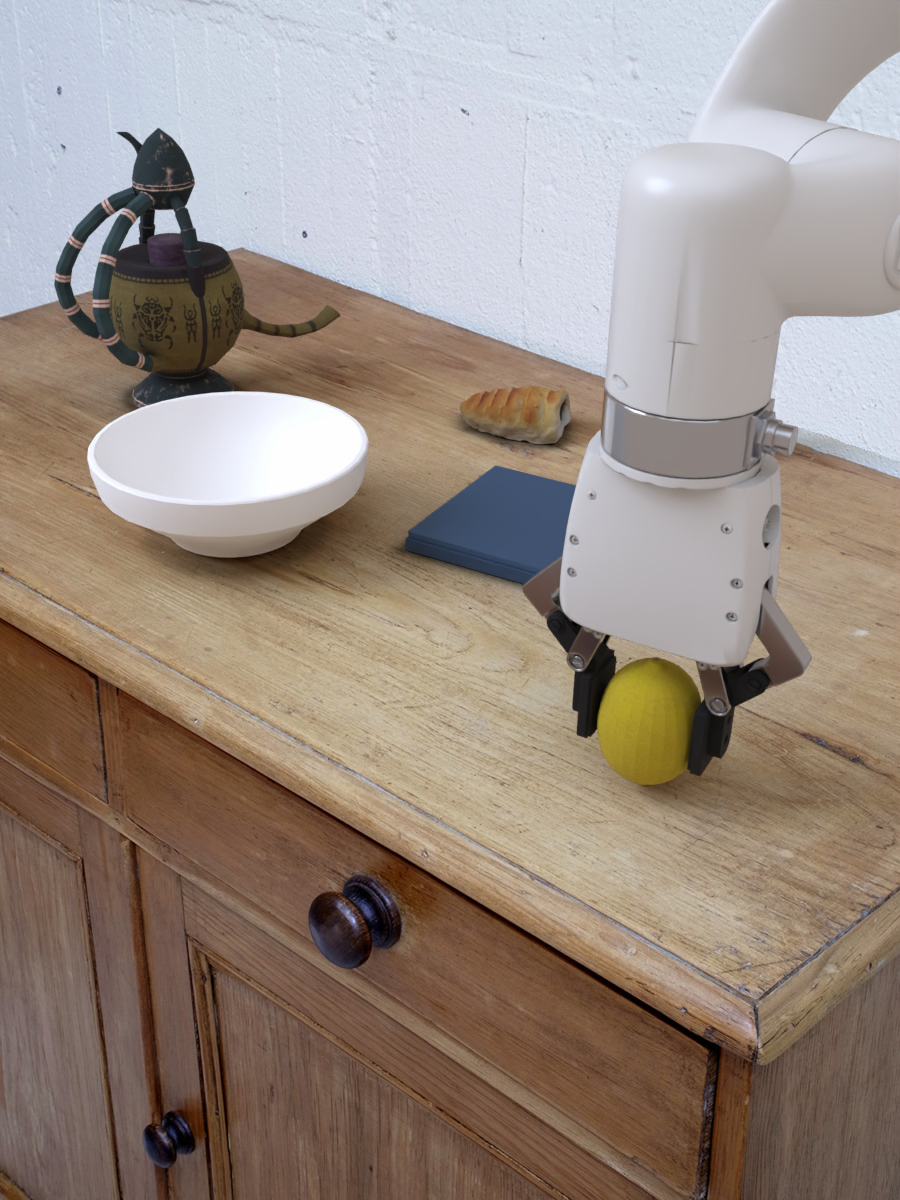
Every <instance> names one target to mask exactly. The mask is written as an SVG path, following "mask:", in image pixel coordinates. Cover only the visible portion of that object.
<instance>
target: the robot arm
mask: <svg viewBox="0 0 900 1200" xmlns="http://www.w3.org/2000/svg"><path fill="white" fill-rule="evenodd" d="M899 52H900V0H770V1H768V3H766V5H765V6H764V7H763V9H761V11H759V13H758V15H757V16H756V17H755V18H754V20H753V21H752V22H751V23H750V25H749V26H748V27H747V29H746V30H745V32H744V34H743V35H742V36H741V38H740V39H739V41H738V43H736V46H735V48H734V49H733V51H732V53H731V54H730V56H729V57H728V59H727V61H726V63H725V64H724V66H723V68H722V70H721V72H720V74H719V75H718V78H716V80H715V82H714V84H713V86H711V87H712V88H711V89H710V91H709V93H708V94H707V96H706V98H705V100H704V102H703V103H702V105H701V107H700V109H699V111H698V113H697V115H696V117H695V119H694V121H693V123H692V126H691V127H690V130H689V132H688V135H687V136H686V138H685V141H684V142H678V143H669V144H664V145H660V146H656V147H652V148H650V149H646V150H645V151H642V152H641V153H640V154H638V155H637V156H636V157H635V158H633V160H632V161H631V162H630V163H629V165H628V166H627V167H626V170H625V172H624V174H623V178H622V181H621V183H620V184H621V185H620V191H619V200H618V209H617V219H616V220H617V222H616V232H615V233H616V234H615V246H614V259H613V260H614V261H613V270H612V271H613V274H612V283H611V284H612V285H611V287H612V288H611V298H610V311H609V323H608V338H607V350H606V363H605V364H606V365H605V376H604V377H605V379H604V386H603V387H604V388H603V397H602V398H603V400H602V411H601V412H602V413H601V426H600V429H599V430H598V431H597V432H596V433H595V434H594V436H592V437H591V438H590V440H589V442H588V444H587V447H586V450H585V453H584V456H583V459H582V463H581V465H580V469H579V473H578V476H577V481H576V484H575V485H576V488H575V492H574V496H573V500H572V505H571V509H570V514H569V519H568V524H567V530H566V536H565V543H564V549H563V554H561V555H560V556H559V557H557V558H556V559H555V560H553V561H552V562H551V563H549V564H548V565H547V566H545V567H544V568H543V569H541V570H540V571H539V572H537V573H536V574H535V575H534V576H533V577H532V578H531V579H529V580H528V581H527V582H526V583H525V584H522V589H521V590H522V593H523V596H525V598H526V599H527V601H529V602H530V604H531V605H532V607H533V608H534V609H535V611H537V613H538V614H539V615H540V616H541V617H542V618H545V620H546V626H547V628H548V630H549V631H550V633H551V634H552V635H553V636H554V638H555V639H556V640H557V642H558V643H559V644H560V646H561V648H562V649H563V650H564V651H565V653H566V654H567V655H566V659H565V661H566V664H567V666H568V667H569V668H570V669H571V670H572V671H574V677H573V688H572V689H573V691H572V701H571V702H572V703H571V709H572V711H574V712H576V713H577V721H576V736H578V737H580V738H583V739H587V738H588V737H589V738H591V737H593V735H594V734H595V733H596V732H597V718H598V712H599V707H600V703H601V699H602V696H603V694H604V691H605V689H606V687H607V685H608V683H609V682H610V680H611V679H612V677H613V676H614V674H615V673H616V669H617V656H616V655H615V652H616V651H615V649H613V648H610V647H609V646H608V645H609V643H610V640H611V639H612V637H614V638H618V639H620V640H624V641H627V642H631V643H634V644H637V645H640V646H643V647H647V648H651V649H655V650H658V651H661V652H664V653H667V654H671V655H673V656H677V657H680V658H685V659H687V660H691V661H694V662H695V664H696V668H697V673H698V676H699V681H700V686H701V690H702V694H703V700H701V704H700V705H699V707H698V708H697V709H696V711H695V714H694V719H693V727H692V734H691V742H690V749H689V757H688V765H687V768H686V770H687V771H689V774H690V775H693V776H697V777H701V776H702V775H703V773H704V772H705V771H706V769H707V767H708V765H710V763H711V761H712V759H713V758H717V759H720V760H721V759H722V758H723V757H724V756H725V754H726V752H727V751H728V748H729V745H730V741H731V736H732V730H733V724H734V717H735V712H736V711H735V710H736V707H737V706H740V705H741V704H743V703H746V702H748V701H750V700H752V699H754V698H756V697H759V696H760V695H763V693H765V692H766V691H767V690H768V689H771V688H774V687H778V686H780V685H783V684H785V683H787V682H789V681H792V680H794V679H796V678H800V677H801V676H802V675H804V673H805V672H806V670H807V669H808V667H809V665H810V664H811V662H812V658H813V655H812V654H811V651H810V650H809V649H808V647H807V645H806V644H805V642H804V641H803V639H802V638H801V637H800V635H799V634H798V632H797V631H796V629H795V628H794V626H793V625H792V623H791V622H790V621H789V619H788V617H787V615H786V614H785V613H784V612H783V610H782V609H781V607H780V606H779V604H778V603H777V595H778V586H779V574H780V573H779V572H780V563H781V562H780V559H781V544H782V542H781V541H782V519H783V518H782V517H783V515H782V514H783V513H782V511H783V505H782V504H783V503H782V501H783V500H782V481H781V480H782V479H781V470H780V463H779V460H778V459H777V458H776V457H775V456H774V455H776V454H781V455H785V456H791V455H792V454H793V452H794V450H795V447H796V446H797V442H798V437H799V427H798V426H796V425H791V424H786V423H784V422H783V420H782V419H778V418H777V417H776V411H774V408H775V401H776V398H772V392H773V385H774V380H775V379H774V377H775V371H776V365H777V357H778V352H779V351H778V350H779V344H780V338H781V337H780V336H781V330H782V326H783V324H784V323H785V322H786V321H787V320H788V319H791V318H793V317H794V318H795V317H834V318H835V317H836V318H837V317H838V318H856V317H859V318H862V317H873V316H875V317H876V316H880V315H885V314H889V313H893V312H898V311H900V140H899V139H896V138H892V137H889V136H883V135H879V134H874V133H870V132H868V131H867V132H866V131H862V130H858V129H857V128H855V127H854V128H853V127H851V126H850V127H849V126H846V125H842V124H838V123H833V122H829V121H828V120H829V119H830V118H831V116H832V114H833V113H834V112H835V110H836V109H837V107H838V106H839V105H840V104H841V102H843V100H844V99H845V98H846V97H847V95H849V93H850V92H851V91H853V89H854V88H855V87H856V86H857V85H858V84H859V83H860V82H861V81H862V80H864V79H865V78H866V77H867V76H868V75H869V74H870V73H872V72H873V71H874V70H876V68H879V66H881V65H882V64H883V63H884V62H886V61H887V60H889V59H890V58H892V57H893V56H895V55H896V54H898V53H899ZM755 636H757V638H758V639H759V641H760V642H761V644H762V645H763V647H764V648H765V649H766V652H768V654H769V655H768V656H766V657H759V658H757V659H754V660H752V661H751V662H749V663H746V664H744V662H745V661H746V659H747V657H748V654H749V651H750V647H751V645H752V644H753V641H754V638H755Z"/></svg>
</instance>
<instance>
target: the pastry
mask: <svg viewBox="0 0 900 1200" xmlns="http://www.w3.org/2000/svg"><path fill="white" fill-rule="evenodd" d="M569 396H570V395H569V393H568V391H567V390H566V389H565V388H563V387H561V388H559V389H558V390H553V389H549V388H546V387H543V386H539V385H538V386H537V385H531V384H523V385H521V386H519V387H514V386H507V387H503V388H493V389H492V390H490V391H486V390H484V391H481V392H477V393H476V392H475V393H474V394H472V395H470V397H467V399H466V400H464V401H462V402H461V403H460V404H459V410H460V413H461V417H462V418H463V420H464V421H465V423H466V424H467V425H468V426H470V427H471V428H472V429H473V430H475V429H476V430H478V431H479V432H481V433H488V434H490V435H492V436H494V437H495V436H496V437H500V438H505V439H507V440H511V441H518V442H522V441H526V442H528V443H529V444H533V445H534V444H535V445H549V444H557V442H558V441H559V440H560V439H561V437H562V436H563V435H564V431H565V427H566V426H567V425H568V424H569V423H570V422H571V420H572V416H573V415H572V408H571V400H570V397H569Z"/></svg>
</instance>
